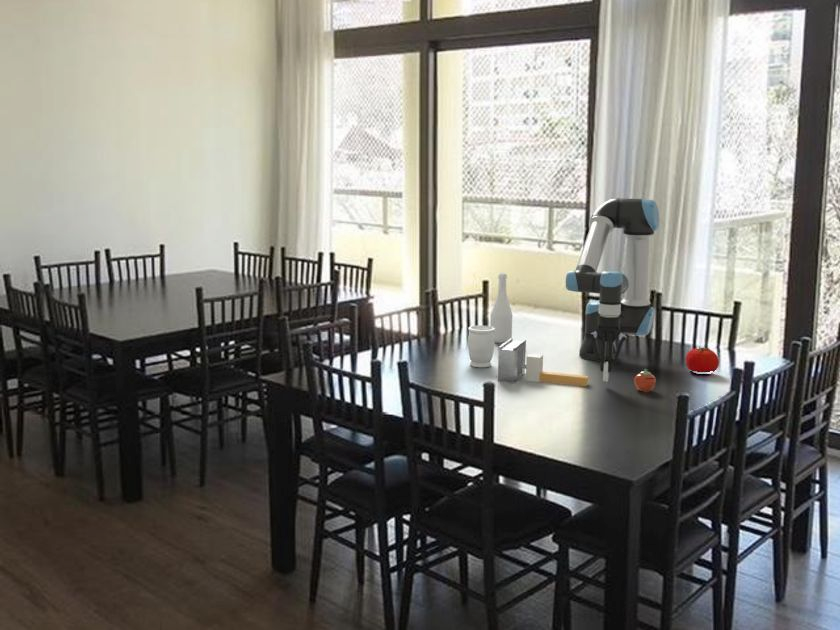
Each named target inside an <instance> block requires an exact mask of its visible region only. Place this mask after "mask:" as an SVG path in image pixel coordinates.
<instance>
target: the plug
mask: <svg viewBox="0 0 840 630" xmlns="http://www.w3.org/2000/svg"><path fill="white" fill-rule="evenodd" d="M543 367H544V354H539V353H529V354H527V355H526V356H525V365H523V366H521V368H524V369H525V382H527V381H529V382H537V383H539V382H544V383H553V384H561V385H572V386H579V385H581V387H587V386H588V385H587V384H589V376H588V375H582V374H571V373H562V372H552V371H543Z"/></svg>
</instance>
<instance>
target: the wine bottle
mask: <svg viewBox="0 0 840 630" xmlns="http://www.w3.org/2000/svg"><path fill="white" fill-rule="evenodd" d="M497 276H498V287H497V288H498V290H497V295H496V298H495V300H494V303H493V306H492V308H491V312H490V315H489V317H490V322H489V323H490V324H489V326H491V327H494V328H495V331H494V332H493V333H494V339H495V343H497V344H503V343H505V342H506V341H508V340H509V339H510V338H513V337H512V334H513V312H512V308H511V304H510V301H509V298H508V295H507V279H508V278H507V277H508V275H507V273H506V272H499V273H498V275H497Z"/></svg>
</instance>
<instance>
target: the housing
mask: <svg viewBox="0 0 840 630" xmlns="http://www.w3.org/2000/svg"><path fill="white" fill-rule="evenodd" d="M526 347H527V339H522V341H521V340H520V341H519V340H514V339H513V337H512V338H510V339H509V340H508V341H506V342H505V343H501V345H500V346H498V355H497V356H498V358H497V360H498V361H497V362H498V363H497V382H500V383H501V382H502V383H510V384H515V382H517V380H518V379H517V377H518V376H523V375H524V374H526V369H524V368H521V366H523V365H526V356H527V355H526V353H527V351H526V350H527V348H526Z"/></svg>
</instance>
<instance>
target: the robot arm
mask: <svg viewBox="0 0 840 630" xmlns="http://www.w3.org/2000/svg"><path fill="white" fill-rule="evenodd" d="M659 223H660V214H659V207H658V204H657V202H656V201H655V200H653V199H647V198H620V197H616V198H611V199H608V200H607V201H605V202H603V203H602V204H601V205H599V206H598V207H597V208H596V209H595V210H594V212H593V213H592V215H591V216H590V218H589V222H588V227H589V230H588V233H587V235H586V238H585V242H584V244H583V247H582V250H581V253H580V256H579V259H578V262H577V264H576V268H575V270H569V271H568V272H567V273H566V276H565V288H566V289H567V291H570V292H575V293H576V292H577V293H588V294H590V293H591V294H599V300H593V301H590V302H588V303H587V304H586V307H585V313H584V315H585V318H584V319H585V320H584V321H585V322H584V339H583V341H582V343H581V346H580V348H579V353H578V354H579V357H580V358H581V359H584V358H585V360H589V359H591V360H590V361H596V360H597V361H598V362H600V372H603V373H602V374H603V375H602V376H603V377H602V382H606V383H607V382H608V381H609V377H610V376H609V375H610V373H612V372H613V371H612V370H613V363H617V362H618V360H619V357H620V354H621V351H622V347H623V344H624V342H625V341H626V339H627V338H628V337H627V336H628V335H629V336H630V335H631V336H636V337H637V336H638V337H639V336H642V337H643V336H644V337H645V336H648V335H649V334H650V331H651V330H652V325H653V321H654V318H655V308H654V307H653V306H651V301H650V299H648V298H647V296H648V280H649V279H648V278H649V277H648V276H649V275H648V274H649V261H650V239H651V238H652V237H653V235H655V231H657V230H658V229H659V227H660V226H659V225H660V224H659ZM614 229H623V231H622V233H623V235H624V237H626V254H625V273H622V272H620V271H618V270H605V271H604V270H603V271H602V272H597V271H598V268H599V265H600V263H601V260H602V256H603V253H604V249H605V247H606V244H607V241H608V238H609V235H610V234H611V233H612V232H613V230H614ZM623 294H624V297H623V298H622V295H623ZM618 337H619V338H618ZM617 338H618V340H619V342H618V345H617V346H616V343H615V341H616V340H617ZM605 360H608V361H605Z"/></svg>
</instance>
